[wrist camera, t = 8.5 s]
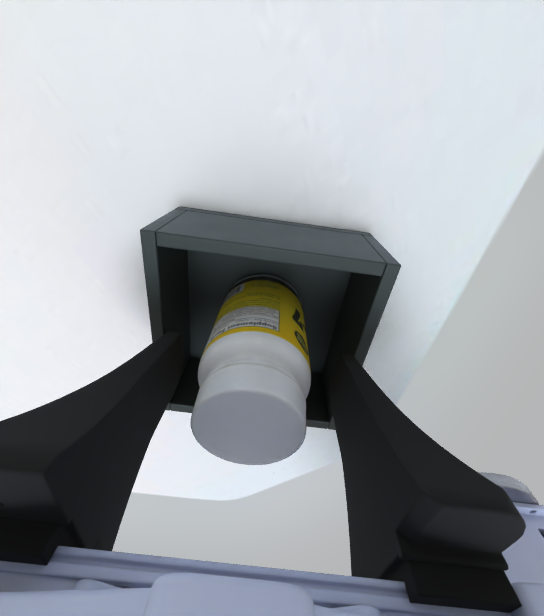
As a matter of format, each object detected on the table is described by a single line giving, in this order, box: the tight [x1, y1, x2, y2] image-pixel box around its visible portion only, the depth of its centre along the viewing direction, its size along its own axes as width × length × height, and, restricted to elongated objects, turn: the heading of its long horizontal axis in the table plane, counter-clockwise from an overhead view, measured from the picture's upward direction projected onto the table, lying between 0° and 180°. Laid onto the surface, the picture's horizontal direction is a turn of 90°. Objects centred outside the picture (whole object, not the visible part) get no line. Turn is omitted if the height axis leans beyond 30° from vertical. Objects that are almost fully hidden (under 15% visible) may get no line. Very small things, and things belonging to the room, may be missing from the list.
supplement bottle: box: [191, 274, 311, 465], centre depth 13 cm, size 5×5×8 cm
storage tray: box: [140, 207, 401, 430], centre depth 15 cm, size 10×10×5 cm
